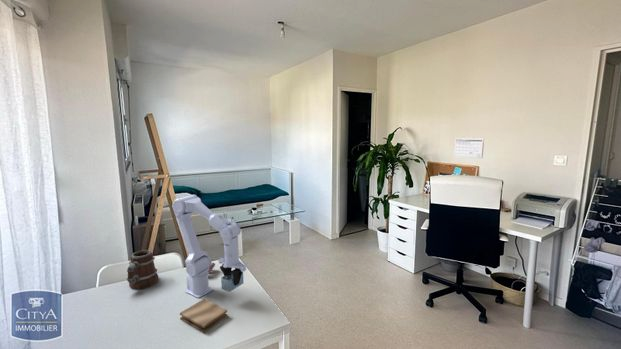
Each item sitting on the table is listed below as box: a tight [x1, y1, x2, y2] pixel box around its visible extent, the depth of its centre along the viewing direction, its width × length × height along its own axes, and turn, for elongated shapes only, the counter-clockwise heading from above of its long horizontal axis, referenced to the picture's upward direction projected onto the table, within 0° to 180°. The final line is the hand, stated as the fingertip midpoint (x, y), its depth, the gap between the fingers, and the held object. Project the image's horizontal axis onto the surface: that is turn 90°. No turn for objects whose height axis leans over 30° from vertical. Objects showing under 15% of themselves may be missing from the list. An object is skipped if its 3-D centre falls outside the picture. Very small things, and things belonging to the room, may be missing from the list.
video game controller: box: [208, 261, 216, 274], centre depth 142 cm, size 10×5×7 cm, turn 169°
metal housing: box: [220, 272, 245, 293], centre depth 118 cm, size 5×8×6 cm, turn 148°
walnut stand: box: [179, 298, 229, 334], centre depth 108 cm, size 14×11×3 cm
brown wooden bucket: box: [126, 249, 159, 290], centre depth 131 cm, size 16×12×15 cm
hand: (232, 282), depth 118 cm, fingers closed on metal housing, 5 cm apart
